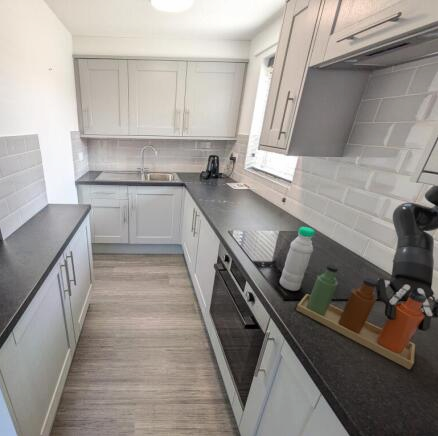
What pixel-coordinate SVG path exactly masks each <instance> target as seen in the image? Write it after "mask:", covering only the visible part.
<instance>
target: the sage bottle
mask: <svg viewBox="0 0 438 436" xmlns="http://www.w3.org/2000/svg"><path fill="white" fill-rule="evenodd" d="M338 271H339V267H338V266H336V265H334V264H330V263H329V264H327V265H326V267H325V271H324V273H321V274H320V275H317V277H316V279H315V283H314V285H313V288H312V291H311V293H310V295H311V296H310V298H309V301H308V304H307V309H309V310H311V311H313V312H315V313H317V314H319V315H321V316H324V315H325V314H326V312H327V309H328V307H329V304H330V305H331V302H332V300H333V297H334V294H335V293H336V290H337V287H338V284H339V282H338V281H337V278H336V275H337V272H338Z"/></svg>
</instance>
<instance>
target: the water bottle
mask: <svg viewBox="0 0 438 436" xmlns="http://www.w3.org/2000/svg"><path fill="white" fill-rule="evenodd" d="M297 234H298V236H297V237H295V238H294V240H292V241H291V243H290V246H289V249H288V252H287V255H286V259H285V261H284V262H285V263H284V267H283V269H282V272H281V276H280V278H279V284H280V286H281V287H282V288H284V289H286V290H288V291H290V292H291V291H292V292H295V291H296V292H297V291H299V290H300V289H301V286H302V283H303V282H302V281H303V279H304V277H305V273H306V271H307V268H308V265H309V262H310V260H311V255H312V253H313V251H314V246H313V241H312V238H313V237H314V236H315V230H314V229H313V228H311V227H307V226H301V227H299V229H298V231H297Z"/></svg>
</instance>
